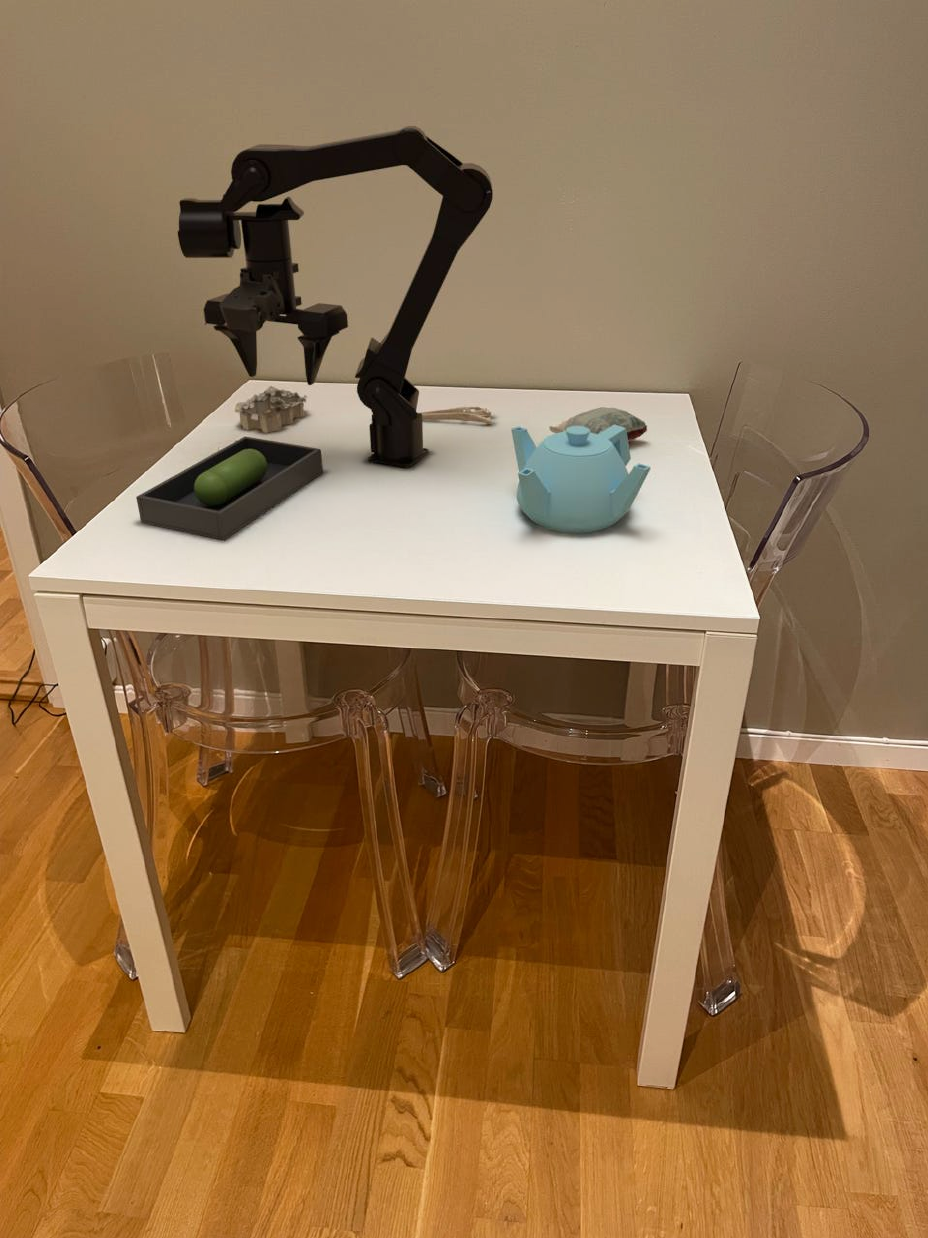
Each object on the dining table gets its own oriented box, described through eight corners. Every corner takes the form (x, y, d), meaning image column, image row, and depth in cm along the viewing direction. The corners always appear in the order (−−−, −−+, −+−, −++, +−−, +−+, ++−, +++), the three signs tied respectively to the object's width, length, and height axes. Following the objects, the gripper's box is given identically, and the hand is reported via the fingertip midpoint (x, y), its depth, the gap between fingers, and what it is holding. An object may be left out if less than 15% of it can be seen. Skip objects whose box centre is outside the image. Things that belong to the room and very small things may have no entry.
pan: (323, 472, 127) (321, 448, 126) (224, 540, 110) (220, 513, 108) (247, 459, 132) (244, 436, 130) (141, 522, 114) (135, 496, 113)
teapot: (646, 540, 110) (655, 452, 104) (516, 541, 109) (519, 453, 104) (625, 487, 123) (632, 407, 117) (509, 488, 122) (511, 408, 117)
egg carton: (272, 435, 140) (269, 408, 138) (232, 428, 143) (228, 401, 141) (313, 413, 148) (310, 387, 146) (273, 406, 151) (270, 381, 149)
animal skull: (492, 415, 147) (491, 402, 146) (491, 426, 143) (490, 413, 142) (381, 421, 148) (379, 408, 147) (377, 432, 144) (375, 419, 143)
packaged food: (548, 444, 136) (550, 411, 133) (606, 426, 142) (608, 394, 140) (591, 463, 130) (594, 428, 127) (649, 443, 136) (653, 410, 134)
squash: (277, 474, 124) (268, 442, 123) (221, 511, 115) (209, 477, 113) (251, 476, 126) (241, 445, 125) (193, 512, 117) (181, 478, 115)
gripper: (166, 263, 115) (187, 388, 123) (297, 275, 109) (309, 407, 117) (222, 248, 124) (237, 366, 132) (345, 258, 118) (353, 382, 126)
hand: (281, 380), depth 126 cm, fingers open, 9 cm apart
